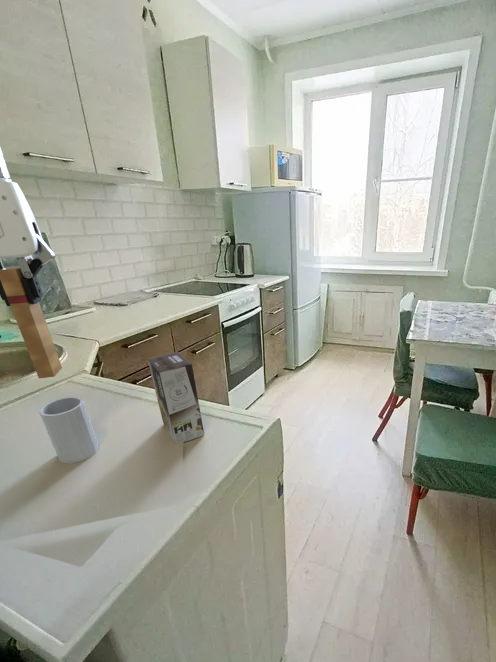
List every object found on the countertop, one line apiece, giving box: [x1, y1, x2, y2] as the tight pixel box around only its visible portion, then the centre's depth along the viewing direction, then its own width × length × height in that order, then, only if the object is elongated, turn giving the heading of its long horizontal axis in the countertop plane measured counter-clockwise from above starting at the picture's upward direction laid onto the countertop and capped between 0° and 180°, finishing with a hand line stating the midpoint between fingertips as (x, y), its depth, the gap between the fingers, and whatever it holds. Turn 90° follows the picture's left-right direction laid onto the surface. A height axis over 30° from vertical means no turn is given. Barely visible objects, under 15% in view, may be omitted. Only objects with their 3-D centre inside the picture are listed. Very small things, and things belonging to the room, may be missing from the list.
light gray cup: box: [38, 396, 100, 465], centre depth 67 cm, size 7×7×11 cm
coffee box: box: [147, 351, 205, 444], centre depth 72 cm, size 9×6×16 cm
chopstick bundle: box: [0, 265, 63, 379], centre depth 59 cm, size 3×4×18 cm, turn 13°
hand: (24, 302), depth 57 cm, fingers closed on chopstick bundle, 2 cm apart
